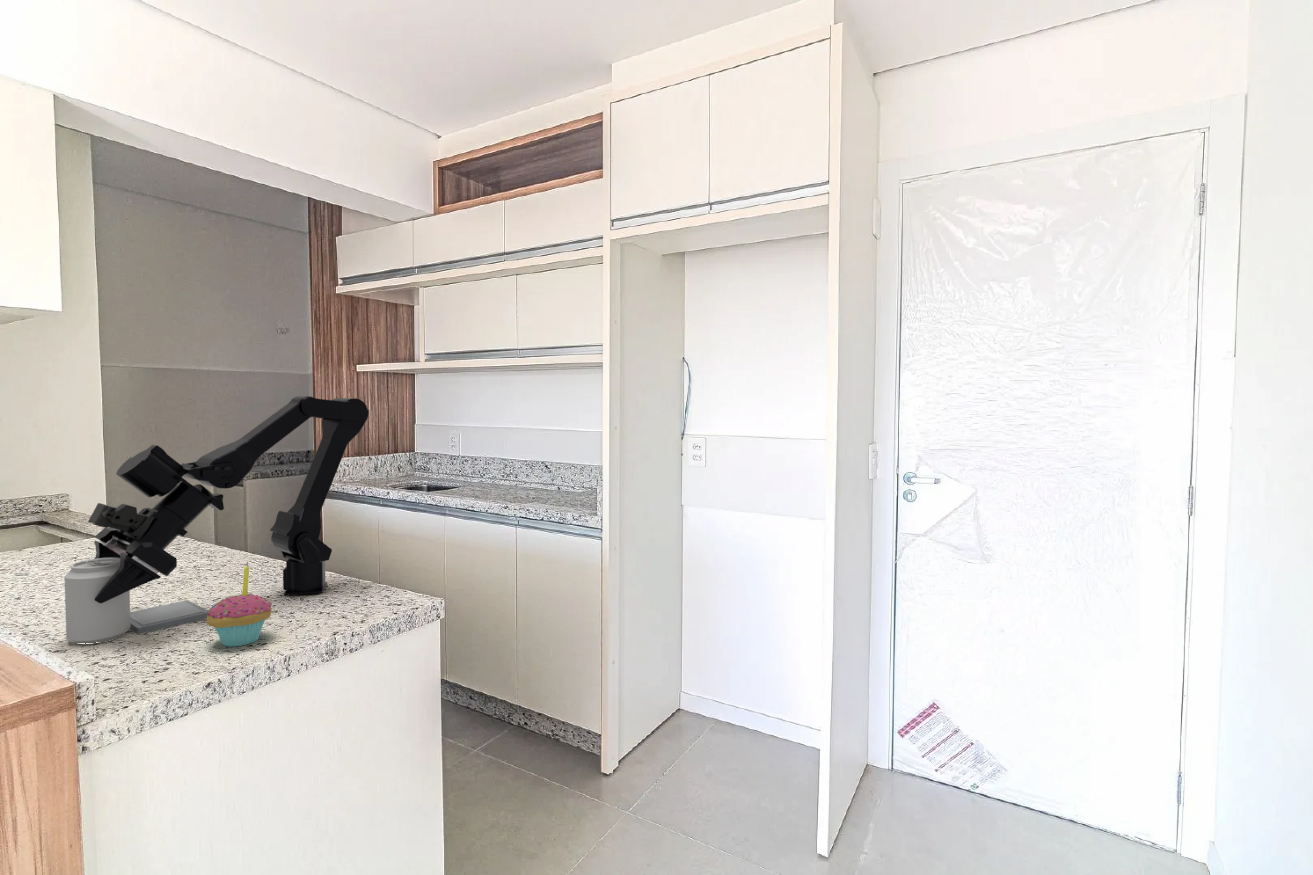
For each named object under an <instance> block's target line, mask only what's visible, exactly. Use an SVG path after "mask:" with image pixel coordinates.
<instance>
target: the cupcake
mask: <svg viewBox="0 0 1313 875" xmlns="http://www.w3.org/2000/svg"><path fill="white" fill-rule="evenodd" d="M249 576H250V566H249V561H248V560H247V561H246V566H244V568H243V580H242V583H243V584H242V594H239V595H233V594H232V595H229V596H227V597H225V598H224V599H223V598H222V599H221V600H220V601H219V602H216V604H214V605H212V607H211V608H209V609H208V611H209V612H208V615H207V619H206V622H207V623H206V624H207V625H208V627H213V628H214V629H215V630H216V631H215V632H217V635H218V637H219V639H220V642H221V644H222V645H223V646H224V647H230V648H231V647H241V646H245V645H250V644H252V643H255V642H257V641H258V640H259V639H260V638H259V637H260V634H261V631H262V629H263V626H264V624H265V621H267V620H268V619H270V617H271V616H272V613H273V608H272V604H273V603H272V602H271V601H269V600H268V598H267V597H264V596H262V595H258V594H256V595H255V594H252V593H249V592H248V590H249V589H248V588H249Z"/></svg>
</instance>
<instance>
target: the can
mask: <svg viewBox="0 0 1313 875" xmlns="http://www.w3.org/2000/svg"><path fill="white" fill-rule="evenodd" d="M119 567H120V558H98V559H94V558H91V559H85V560H79V561H76V562H74V563H72V564H71V565H69V568H70V570H69V571H68V572H67V573H66V574H65V575H64V600H65V601H64V602H65V603H64V604H65V605H64V606H65V607H64V608H65V609H64V610H65V632H66V633H65V634H66V636H65V637H66V639H67V640H68V641H70V642H72V643H74V642H75V643H85V644H86V643H96V642H103V643H106V642H105V641H107V642H110V641H109V640H111V641H113V640H112V639H114V640H116V638H117V639H119V638H121V637H124V635H125V634H126V633H127V632H128V631H129V630H131V629H130V627H131V624H130V612H131V599H130V598H131V596H130V593H131V592H130V591H131V590H129V591H127V592H125V593H123V594H121V595H119V596H116V597H114V598H112V599H110V600H108V601H106V602H104V603H98V602H96V601H95V600H94V599H95V597H96V596H97V595H98V593H99V592H100V591H101V589H102V588H103V587H104V586H105V585H106V583H107V582H108V581H109V580H110V578H111V577H112V576H113V575H114V574H115V572H116V571H117V570H118V569H119ZM75 643H74V644H75Z"/></svg>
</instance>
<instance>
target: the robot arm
mask: <svg viewBox="0 0 1313 875" xmlns="http://www.w3.org/2000/svg"><path fill="white" fill-rule="evenodd" d="M367 406H368V405H366V402H364V401H363V400H361V399H359V398H357V397H356V398H354V397H352V398H351V397H334V398H333V399H323V398H316V397H313V396H309V395H308V396H307V395H299V396H298V395H297V396H295V397H293V398H291V399H290V401H289V402H288V403H287V404H284V406H282V407H281V408H280V409H279V410H277V411H276V412H274V413H273V414H272V415H270V416H269V417H267V418H266V419H264V420H263V421H262V422H261V423H259V424H257V426H255V427H254V428H252V429H251V430H250V431H248V432H247V433H246V434H244V435H243V436H242V437H241V438H239V439H237V440H235V441H233V442H230V443H228V444H225V445H222V446H219V447H218V448H215V449H213V450H212V451H210V452H208V453H206V454H204V455H202V456H200V457H199V458H198V459H197V460H195V461H193V462H186V463H181V464H180V463H179V462H178V461H177V460H176V459H174V458H173V457H171V456H170V455H169V454H168V453H167V452H166V451H165V449H163V448H162V447H161V446H160V445H156V444H152V445H150V446H149V447H148V448H147V449H145V450H142V451H141V452H138V453H137V454H135V455H134V456H132V457H131V456H130V457H129V458H128V459H127V460H125V461H124V462H123V463H122V464H121V466H119V467H118V469H117V470H116V472H115V473H116V474H115V475H117V476H118V477H119V478H121V479H122V480H123V481H124V482H126V483H127V484H129V485H130V486H132V487H133V488H135V489H136V490H137V491H139V493H141V494H142V495H144V496H146V497H147V498H153V497H156V496H158V497H161V498H162V497H163V498H162V499H160V501H158V502H157V503H156V504H155V505H154V506H153V507H152V508H150V507H144V508H142V509H141V510H140V511H139V512H138V511H137V510H138V508H137V507H136V506H132V505H128V504H126V503H121V504H119V505H118V506H117V507H116V506H113V505H112V506H111V505H108V504H104V503H100V502H98V503H97V504H96V506H95V508H94V509H93V512H92V514H91V515H90V516H89V519H88V521H87V522H88V523H89V524H90V523H91V524H93V525H95V526H97V527H101V528H102V530H100V532H98V533H97V534H96V535H95V536H94V538H95V539H97V540H94V542H93V543H94V545H95V546H94V547H95V557H94V558H93V559H98V558H120V567H119V569H118V570H117V571H116V572H115V574H114V575H113V576H112V577H111V578H110V580H109V581H108V582H107V583H106V585H105V586H104V587H103V588H102V589H101V591H100V592H99V593H98V595H97V596H96V597H95V599H94V600H95V601H96V602H98V603H104V602H106V601H108V600H110V599H112V598H114V597H116V596H119V595H121V594H123V593H125V592H127V591H129V590H130V591H132V590H134V589H135V588H138V587H141V586H143V585H145V584H148V583H150V582H152V581H154V580H159V579H161V578H162V576H161V575H163V576H165V577H169V575H170V574H171V573H172V572H173V571H174V570H175V569H176V568H177V567H178V561H177V557H175V556H174V555H172V554H171V553H168V551H166V550H165V549H166V548H167V547H168V546H169V545H170V544H171V543H172V542H173V541H174V540H175V539H176V538H178V537H183V538H184V536H185V535H186V534H188V531H187V530H186V529H187V528H188V527H189V526H190V525H191V524H192V523H193V522H194V521H195V520H196V519H197V518H198V517H199V516H200V515H201V514H202V513H203V512H204V511H205V510H206V509H207V508H208V507H210V508H212V509H214V510H218V511H223V510H225V506H224V500H223V499H224V494H221V493H218V492H216V493H213V492H211V491H210V490H209V489H207V488H206V487H205V486H207V487H212V488H217V489H225V490H226V489H230V488H234V487H236V486H237V485H239V483H240V482H242V481H243V479H244V478H245V477H246V476H247V475H249V473H250V472H251V471H252V469H253V468H254V466H255V464H256V463H257V461H258V460H259V459H260V457H261V456H262V455H263V454H265V453H266V452H268V451H269V450H270V449H271V448H272V447H274V446H275V445H276V444H278V443H279V442H280V441H282V440H283V439H284V438H286V437H287V436H289V434H291V433H292V432H293V431H295V430H296V429H297V428H299V427H300V426H301V425H303V424H304V423H305V422H306V421H307V420H309V419H311V418H315V419H321V429H322V430H321V431H322V437H321V440H320V441H319V442H320V443H319V444H318V447H317V450H316V452H315V455H314V457H313V459H312V462H311V464H310V465H309V469H308V471H307V474H306V476H305V479H304V481H303V483H302V486H301V489H300V490H299V493H298V496H297V498H296V501H295V503H294V504H293V505H292V507H290V508H289V509H288V510H287V511H284V510H279V511H278V513H277V515H276V519H275V521H274V524H273V525H272V527H271V528H270V529H269V531H270V532H272V533H271V538H270V539H271V540H270V541H271V542H272V544H273V546H274V548H275V549H276V550H279V551H280V553H281V555H282V558H284V559H287V560H286V561H285V567H284V568H283V570H282V588H283V591H284V592H283V596H297V595H299V596H300V595H301V596H302V595H312V594H313V595H314V594H322V593H323V591H324V590H325V589H326V587H327V586H328V581H326V561H330V558H331V555H332V552H333V550H332V548H331V547H329V545H327V544H325V543H324V541H322V540H321V539H320V536H321V532H322V528H323V527H322V509H323V506H324V505H325V502H326V499H327V498H328V497H327V496H328V494H329V491H330V489H331V486H332V484H333V482H334V479H335V476H336V474H337V472H338V469H339V467H340V464H341V462H342V459H343V458H344V457H343V456H344V454H345V452H346V449H347V447H348V445H349V444H350V443H351V441H352V440H353V439H354V438H355V437H356V436H357V435H359V433H360V432H361V430H362V429H363V427H364V426H365V424H366V422H367V421H368V419H369V416H370V415H369V414H370V410H369V409H368V407H367ZM185 478H186V479H191V480H197V481H198V482H199V483H198V484H194V485H193V484H191V483H190V482H188V480H186V479H185ZM203 485H204V486H203ZM159 574H161V575H159Z"/></svg>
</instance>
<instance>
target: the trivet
mask: <svg viewBox="0 0 1313 875" xmlns="http://www.w3.org/2000/svg"><path fill="white" fill-rule="evenodd" d="M209 611H210V610H209V609H207V608H204V607H202V606H200V605H198V604H196V603H194V602H193V601H190V600H188V599H187V600H182V601H178V602H174V603H173V602H172V603H168V604H167V603H166V604H162V605H157V606H153V607H149V608H143V609H139V610H138V609H137V610H134V611H133V610H132V611H130V624H131V627H130V629H129V630H131V631H132V632H134V633H136V634H137V635H141V634H146V633H151V632H155V631H159V630H164V629H167V628H171V627H176V626H180V625H181V626H182V625H185V624H189V623H193V622H197V621H202V620H207V615H208V612H209Z"/></svg>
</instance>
